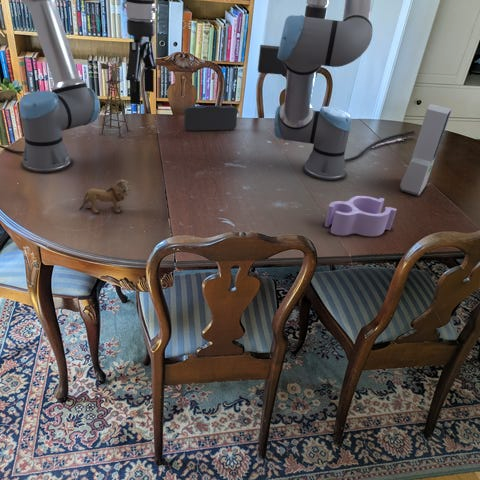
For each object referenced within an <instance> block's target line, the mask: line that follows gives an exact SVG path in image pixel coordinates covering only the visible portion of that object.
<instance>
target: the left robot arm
mask: <svg viewBox="0 0 480 480" xmlns="http://www.w3.org/2000/svg"><path fill="white" fill-rule="evenodd" d="M125 1H126V3H125V6H126V7H125V9H126V10H125V11H126V18H128V19H127V20H126V29H127V31H126V33H127V34H128V35H129V36H131V37H133V41H129V44H128V46H129V48H128V50H129V52H128V61H127V70H126V77H125V80H126V81H129V101H130V103H129V104H131V105H137V106H138V105H139V106H140V105H141V80H140V75H141V69H142V64H143V65H144V67H145V68H144V69H143V74H144V75H143V77H144V79H143V80H144V84H143V85H144V92H148V93H154V92H155V81H154V80H155V77H154V75H155V73H154V70H157V67H158V66H157V62H156V54H155V49H154V41H153V40H154V39H153V37H154V36H155V35H156V22H155V21H154V20H155V18H156V12H157V7H155V3H156V0H125ZM20 2H21V3H22V4H23V5H25V6H26V7H27V8H28V11H29V13H30V16H31V20H32V23H33V26H34V28H35V32H36V34H37V37H38V40H39V43H40V46H41V49H42V53H43V55H44V57H45V61H46V63H47V66H48V70H49V73H50V75H51V78H52V81H53V86H52V87H51V90H41V91H40V90H37V91H32V92H29V93H26V94H24V95H23V96H22V97H21V98H20V100H19V103H18V104H19V116H20V119H21V125H22V132H23V137H24V148H23V150H14V149H12V148H9V147H8V146H7V147H6V146H4V145H2V144H1V145H0V148H1V149H4V150H6V151H8V152H11V153H15V154H22V158H21V159H22V160H21V161H22V166H23V168H24V169H25V170H27V171H29V172H33V173H39V174H46V173H56V172H61V171H63V170H66V169H67V168H69V167H70V166H71V163H72V159H71V155H70V153H69V151H68V150H67V149H68V148H67V147H66V145H65V143H64V140H63V131H66V130H71V129H75V128H78V127H79V128H80V127H82V126H87V125H88V124H92V123H94V122H95V121H97V119H98V118H99V116H100V113H101V103H100V99H99V96H98V94H97V93H96V92H95V91H94V89H92V88H90V87H88V84H87V82H86V81H85V80H83V79H81V77H80V75H79V70H78V68H77V65H76V62H75V59H74V56H73V53H72V50H71V49H72V48H71V47H70V43H69V41H68V38H67V34H66V31H65V28H64V27H65V26H64V25H63V22H62V18H61V15H60V12H59V9H58V6H57V0H20Z"/></svg>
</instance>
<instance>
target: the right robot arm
mask: <svg viewBox="0 0 480 480" xmlns="http://www.w3.org/2000/svg"><path fill="white" fill-rule="evenodd" d="M344 1H345V2H344V9H343V14H342V15H343V16H342V20H337V19H336V20H335V19H329V18H327V12H328V8H327V7H328V5H329V0H306V4H307V5H306V7H305V11H304V15H303V14H300V15H293V14H292V15H291V14H290V15H288V16H287V17H286V18H285V20H284V25H283V29H282V34H281V38H280V42H279V51H278V59H280V60H282V61H283V63H284V66H285V67H286V69H287V75H286V79H285V80H286V81H285V93H284V102H282V104H281V105H278V106H277V107H276V110H275V115H274V125H273V128H274V129H273V131H274V135H275V137H276V138H277V139H279V140H284V141H289V142H298V143H305V144H312V145H313V146H312V151H311V152H310V155H309V157H308V159H307V160H306V161H305V163H304V169H303V170H304V172H305V173H306V174H307V175H309V176H310V177H312V178H315V179H317V180H322V181H339V180H342V179H343V178H344V177H345V176H346V170H347V168H346V162H351V161H353V160H356V159H359V158H360V157H361V156H362V155H363V154H364V153H365V152H367V151H368V150H370V149H371V148H372V147H373V146H374V145H377V144H380V143H382V142H383V141H384V142H385V141H387V140H389V139H393V138H396V137H400V136H403V135H404V136H405V135H408V134H412V133H414V132H415V130H414V131H411V130H410V131H411V132H408V131H406V132H407V133H404V132H400V133H397V134H396V133H395V134H392V135H389V136H386V137H383V138H381V139H378V140H376V141H374V142H372V143H371V144H369V145H368V146H366V147H365V148H364V149H363V150H362V151H361V152H359V154H357V155H354V156H352V157H349V158H345V154H346V149H347V145H348V139H349V134H350V132H351V129H352V128H351V127H352V117H351V115H350V114H349V113H347V112H346V111H344V110H343V109H339V108H336V107H332V106H322V107H320V109H319V110H315V109H313V107H312V105H311V103H312V96H313V91H314V86H315V79H316V78H315V74H316V72H317V73H318V71H319V70H320V69H321V67H322V66H324V67H331V68H339V67H344V66H347V65H349V64H351V63H353V62H355V61H356V60H358V59H359V58H360V57H361V56H363V54H365V52H366V51H367V50H368V48H369V46H370V44H371V42H372V39H373V32H374V31H373V24H372V22H371V21H370V20H371V3H372V0H344ZM326 18H327V19H326ZM402 133H403V134H402Z"/></svg>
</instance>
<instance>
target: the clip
mask: <svg viewBox="0 0 480 480" xmlns="http://www.w3.org/2000/svg"><path fill="white" fill-rule="evenodd" d="M384 201H385V198H383V197H379V198H376V197H373V196H368V195H357V196H352V197H350V198H349V200H347V201H339V200H338V201H337V200H335V201H332V202H330V203H329V205H328V208H327V214H326V218H325V222H324V227H326V228H329V227H330V226H331V227H330V233H331V234H333V235H336V236H348V235H353V234H356V235H360V236H364V237H365V236H366V237H378V236H381V235H382V234H384V232H385V230H387V231H391V229H392V226H393V222H394V219H395V216H396V213H397V210H398V209H397V208H395V207H391V206H385V207H384V211H383V212H382V209H383V206H384Z"/></svg>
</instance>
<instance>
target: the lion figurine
mask: <svg viewBox="0 0 480 480" xmlns="http://www.w3.org/2000/svg"><path fill="white" fill-rule="evenodd" d="M130 187H131V186H130V181H128V180H125V179H119V180H118V181H116V183H115V184H113V185H112V186H110V187H109V188H108V189H99V188H94V187H93V188H90V189H88V190H86V191H85V193H84V196H83V201H82V205H81V206H80V207H79V209H78V210H79V211H82V210H83V209H84V208H86V209H89V208H91V210H92V212H93V213H95V214H97V213H99V210H98V209H96V208H95V205H96V203H97V200H98V201H100V202H102V203H112V204H111V206H112V208H114V212H116V213H120V211H121V210H120V209H119V202H123V201H124V200H125V199H126V197H127V196H128V195H129V194H130V191H131V189H130ZM89 203H90V205H89Z"/></svg>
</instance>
